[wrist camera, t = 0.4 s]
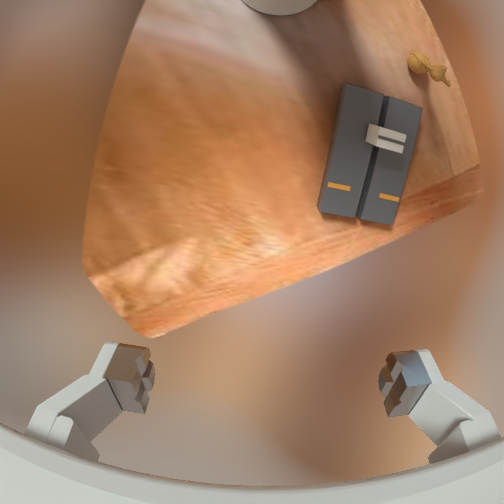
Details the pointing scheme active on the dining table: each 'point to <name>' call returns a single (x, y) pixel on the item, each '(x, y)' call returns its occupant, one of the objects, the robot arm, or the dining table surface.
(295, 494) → the robot arm
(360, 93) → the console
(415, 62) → the figurine
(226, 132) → the dining table surface
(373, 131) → the fader tab
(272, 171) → the dining table surface
